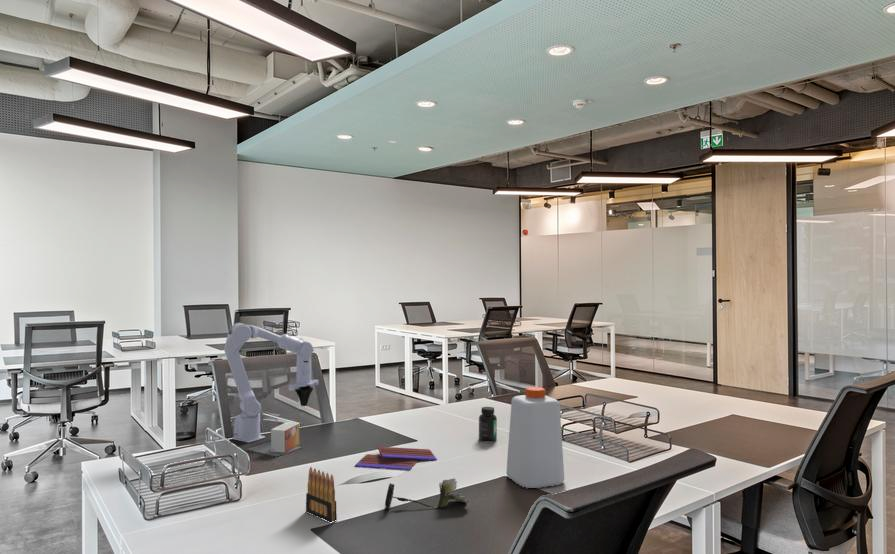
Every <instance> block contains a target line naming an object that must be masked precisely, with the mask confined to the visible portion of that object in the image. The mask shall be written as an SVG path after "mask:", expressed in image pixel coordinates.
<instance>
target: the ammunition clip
mask: <svg viewBox="0 0 895 554" xmlns="http://www.w3.org/2000/svg"><path fill="white" fill-rule="evenodd" d="M334 478H335V477H334V475H333V474H331V475H329V473H328V472H326V474H325V471H323V470H322V472H321V470H320V469H318V470H317V469H316V468H313V467H312V466H310V467H309V470H308V477H307V479H308V481H307V492H306V495H305V496H306V497H305V513H306V512H309V513H311V514H313V515H315V516H318V517H320V518H323V519H325V520H327V521H329V522H332V521H335V520H338V519H337V518H338V517H337V515H338V514H337V501H336V490H335V479H334ZM311 514H310V515H311ZM313 515H312V516H313ZM315 516H314V517H315Z"/></svg>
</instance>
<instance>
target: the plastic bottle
mask: <svg viewBox="0 0 895 554" xmlns="http://www.w3.org/2000/svg"><path fill="white" fill-rule="evenodd" d="M509 418H510V419H509V420H510V421H509V433H508V445H507V446H508V447H507V458H506V459H507V460H506V461H507V462H506V476H507V478H509V479H510V480H511V479H512V480H511V481H513V482H514V483H515V484H517V485H518V484H519V485H518V486H519V487H521V486H522V488H524V487H526V488H525V489H528V488H537V489H541V488H540V487H544V488H547V487H546V486H551V487H553V486H552V485H557V486H559V485H558V484H560V485H562V484H563V483H564V481H565V467H564V452H563V451H564V450H563V435H562V423H561V405H560V402H559V401H558V400H557V399H556V398H554V397H551V396H548V395H546V389H545V388H543V387H540V386H539V387H538V386H529V387H528V386H527V387H526V388H525V394H523V395H521V394H520V395H515V396H513V397H512V398H511V404H510V417H509ZM561 483H562V484H561Z"/></svg>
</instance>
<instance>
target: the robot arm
mask: <svg viewBox="0 0 895 554" xmlns="http://www.w3.org/2000/svg"><path fill="white" fill-rule="evenodd" d="M256 338H261V339H263V340H268V341H271V342H273V343H275V344H277V346H278V347H279V348H280V349H283V350H285V351H287V352H291V353H292V354H293V353H294V354H295V353H296V382H294V383H292V384H289V385H288V391H292V392H293V391H295V393H296V394H297V397H298V400H299V402H300V406H301V407H307V406H308V403H309V399H310V396H311V394H312V392H313V391H314V387H313V386H318V385H320V383H319V379H312V355H313V353H314V351H315V350H314V347H313V345H312V343H311V342H308V341H306V340H304V339H303V338H301V337H299V338H298V337H295V336H292V334H291V333H283V334H281V335H279V334H277V333H274V332H272V331H269V330H267V329H264V328H262V327H260V326H257V325H252V324H245V323H244V322H243V323H242V322H236V323H234V324H233V325H232V326H231V327H230V328H229V330H228V331H227V337H226V339H225V340H226V341H225V344H224V348H223V350H224V354H225V356H226V357H225V358H226V359H227V362H228V366H229V368H230V371H231V374H232V377H233V380H234V384H235V385H236V389H237V391H238V397H239V409H240V410H241V412H240V414H238V415H237V416H236V417H235V419H234V421H233V422H234V423H233V437H231V438H232V440H234V441H235V440H236V441H240V442H245V443H247V444H249V443H252V442H256V441H259V440H262V439H265V438H266V436H265V435H261V411H262V405H261V402H259V401H258V400H257V398H256V396H255V394H254V391H253V390H252V386H251V383H250V381H249V378H248V374H247V371H246V369H245V365H244V363H243V359H242V356H241V354H240V350H241V349H242V347H243V346H244V344H245V343H246V342H247V341H249V340H250V339H256Z"/></svg>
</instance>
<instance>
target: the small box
mask: <svg viewBox="0 0 895 554" xmlns="http://www.w3.org/2000/svg"><path fill="white" fill-rule="evenodd" d="M270 442H271V452H282V453H285V452H287V451H289V450H290V449H292V448H294V447H296V446H298V447H299V445H300V423H299V422H287V421H286V422H284V423H282V424H280V425H278V426H275V427H273V428H271V429H270Z"/></svg>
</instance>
